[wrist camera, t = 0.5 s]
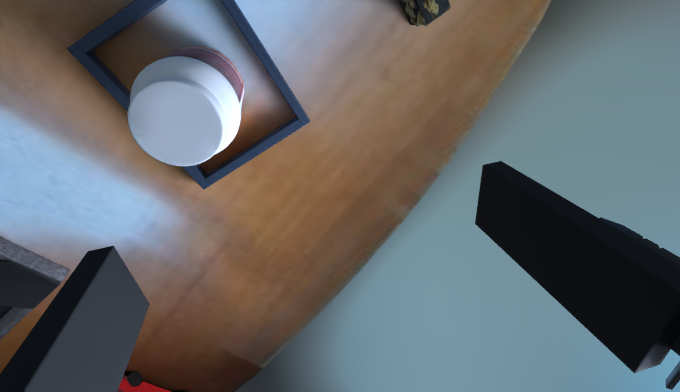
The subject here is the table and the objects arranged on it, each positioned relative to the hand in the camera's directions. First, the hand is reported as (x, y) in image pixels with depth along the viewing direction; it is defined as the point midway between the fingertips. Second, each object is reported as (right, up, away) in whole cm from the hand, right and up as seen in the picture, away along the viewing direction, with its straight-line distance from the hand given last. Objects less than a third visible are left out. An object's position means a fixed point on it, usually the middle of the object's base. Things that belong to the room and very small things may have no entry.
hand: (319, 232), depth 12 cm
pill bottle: (-10, +10, +15) cm, 21 cm away
